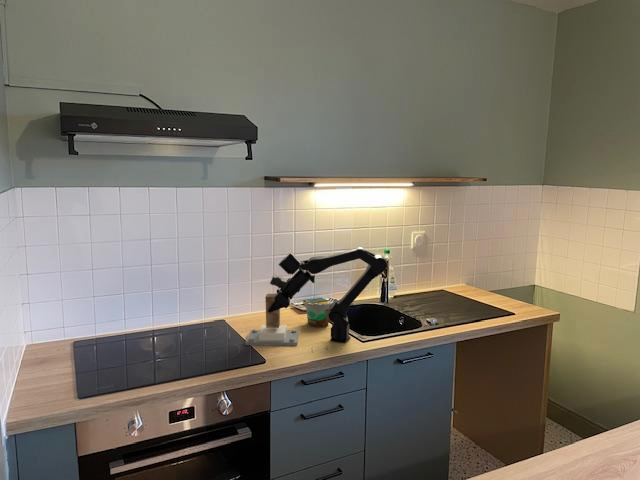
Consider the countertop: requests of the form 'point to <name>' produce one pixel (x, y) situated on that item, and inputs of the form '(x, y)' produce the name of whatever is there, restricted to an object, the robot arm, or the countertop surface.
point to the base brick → (273, 336)
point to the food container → (317, 314)
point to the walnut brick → (272, 313)
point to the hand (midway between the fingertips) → (269, 309)
